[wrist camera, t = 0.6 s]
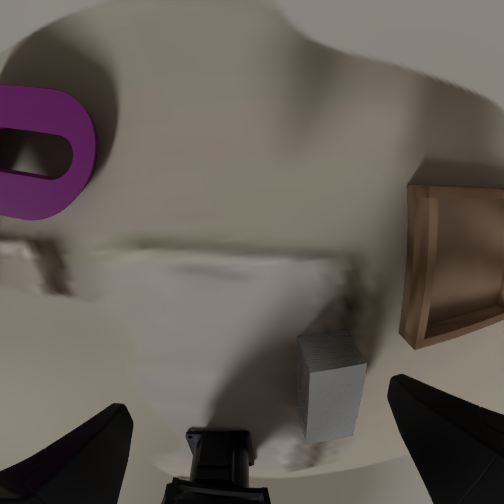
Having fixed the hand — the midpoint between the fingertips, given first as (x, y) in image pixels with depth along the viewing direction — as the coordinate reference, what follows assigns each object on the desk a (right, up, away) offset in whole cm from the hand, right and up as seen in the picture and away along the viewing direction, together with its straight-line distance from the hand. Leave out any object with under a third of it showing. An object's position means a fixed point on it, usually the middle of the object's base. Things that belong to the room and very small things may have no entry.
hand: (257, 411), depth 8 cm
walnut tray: (+19, +5, +12) cm, 23 cm away
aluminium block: (+6, -5, +15) cm, 17 cm away
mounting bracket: (-20, +14, +10) cm, 26 cm away
